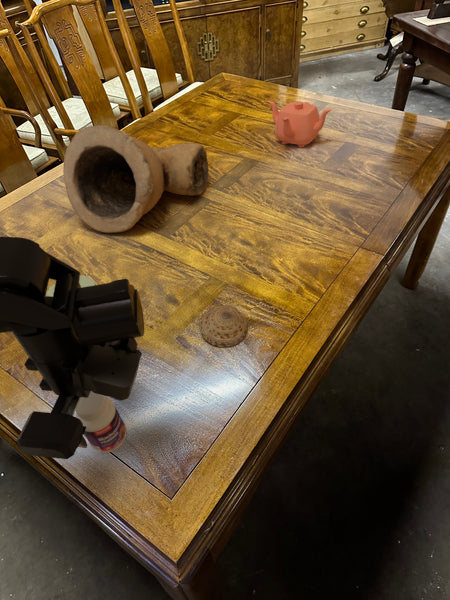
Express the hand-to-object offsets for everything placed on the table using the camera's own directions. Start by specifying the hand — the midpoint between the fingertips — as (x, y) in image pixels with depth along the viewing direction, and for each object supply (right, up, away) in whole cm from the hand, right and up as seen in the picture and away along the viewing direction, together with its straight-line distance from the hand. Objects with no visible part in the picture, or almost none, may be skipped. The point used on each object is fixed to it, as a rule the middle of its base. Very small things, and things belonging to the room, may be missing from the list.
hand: (95, 414), depth 58 cm
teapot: (+39, +63, +67) cm, 99 cm away
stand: (-11, +14, +24) cm, 30 cm away
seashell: (+18, +11, +17) cm, 27 cm away
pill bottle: (+1, -4, +5) cm, 6 cm away
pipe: (-2, +41, +51) cm, 65 cm away
